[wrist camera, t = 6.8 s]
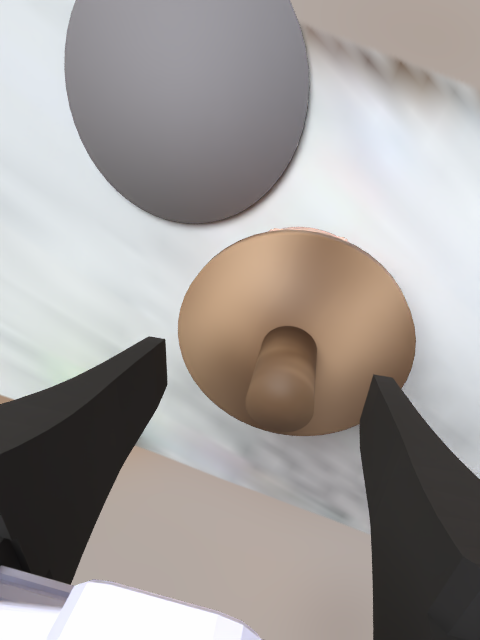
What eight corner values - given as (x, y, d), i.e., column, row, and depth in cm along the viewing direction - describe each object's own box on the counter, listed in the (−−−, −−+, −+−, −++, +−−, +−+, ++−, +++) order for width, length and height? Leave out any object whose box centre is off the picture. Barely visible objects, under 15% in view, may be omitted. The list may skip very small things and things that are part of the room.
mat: (332, -71, 14) (333, -77, 14) (289, 234, 20) (288, 237, 20) (50, -76, 16) (43, -81, 16) (87, 207, 22) (82, 209, 22)
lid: (444, 243, 15) (489, 293, 11) (381, 441, 20) (395, 525, 16) (178, 218, 16) (128, 253, 12) (186, 406, 22) (154, 474, 18)
